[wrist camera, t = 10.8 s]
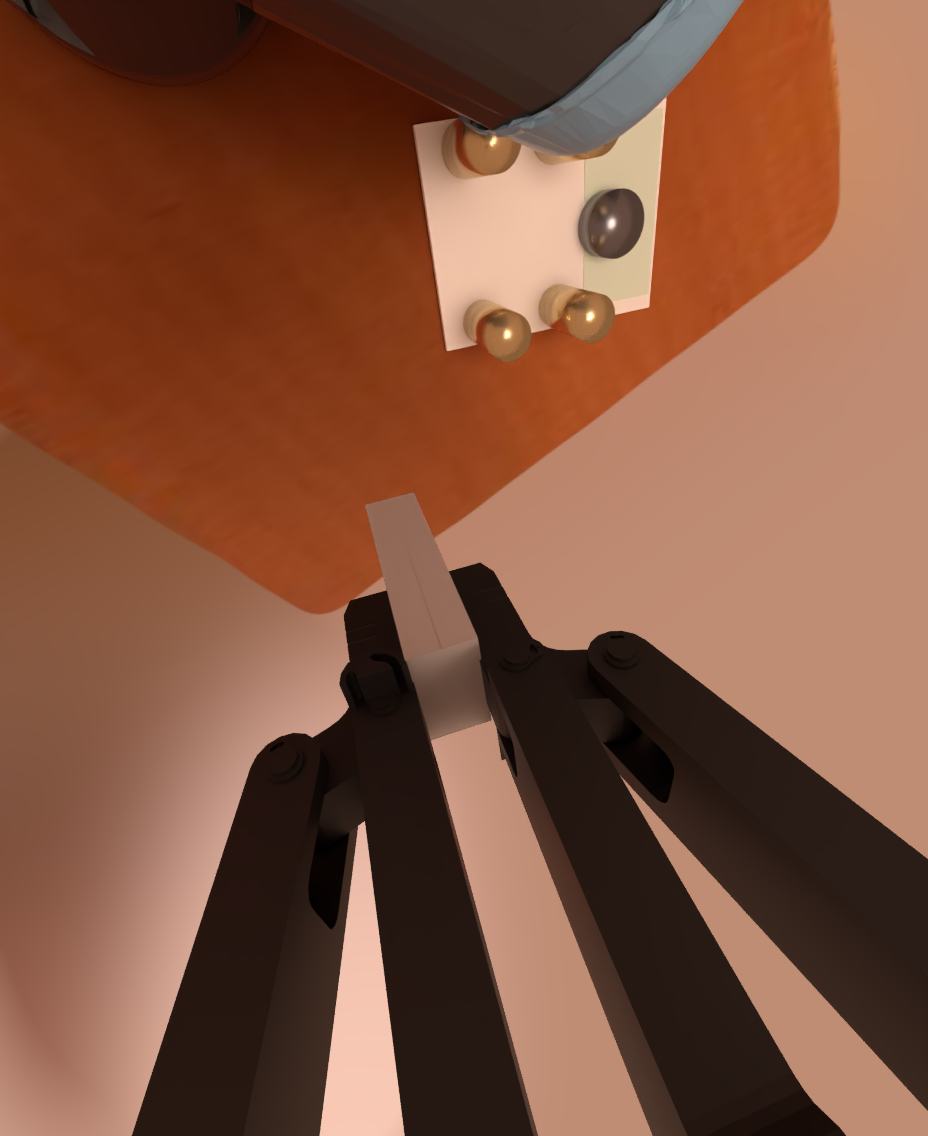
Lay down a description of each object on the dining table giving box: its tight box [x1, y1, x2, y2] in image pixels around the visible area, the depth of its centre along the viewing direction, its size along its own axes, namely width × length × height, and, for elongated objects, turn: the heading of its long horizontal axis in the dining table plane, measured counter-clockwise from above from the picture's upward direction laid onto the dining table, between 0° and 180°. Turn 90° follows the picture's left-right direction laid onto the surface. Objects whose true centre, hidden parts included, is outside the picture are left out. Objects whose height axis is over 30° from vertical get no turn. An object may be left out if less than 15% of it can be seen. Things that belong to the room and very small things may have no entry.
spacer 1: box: [442, 118, 521, 180], centre depth 29 cm, size 3×3×6 cm
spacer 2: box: [463, 299, 531, 362], centre depth 35 cm, size 3×3×6 cm
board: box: [413, 98, 666, 351], centre depth 35 cm, size 13×17×1 cm
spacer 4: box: [539, 284, 615, 343], centre depth 36 cm, size 3×3×6 cm
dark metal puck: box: [578, 188, 644, 259], centre depth 35 cm, size 4×4×2 cm
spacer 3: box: [534, 137, 619, 165], centre depth 30 cm, size 3×3×6 cm
